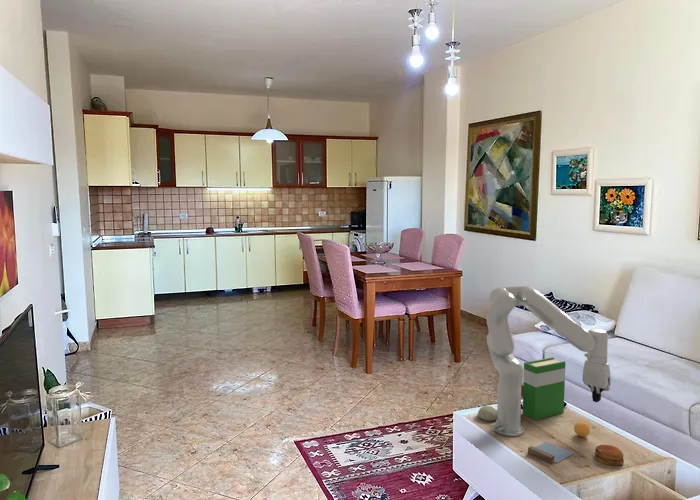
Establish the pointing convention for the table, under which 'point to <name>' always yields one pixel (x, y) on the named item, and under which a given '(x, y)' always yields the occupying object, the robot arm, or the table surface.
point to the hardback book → (543, 388)
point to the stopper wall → (541, 454)
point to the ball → (582, 429)
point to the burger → (609, 455)
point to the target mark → (555, 451)
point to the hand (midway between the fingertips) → (596, 401)
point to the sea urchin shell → (487, 413)
